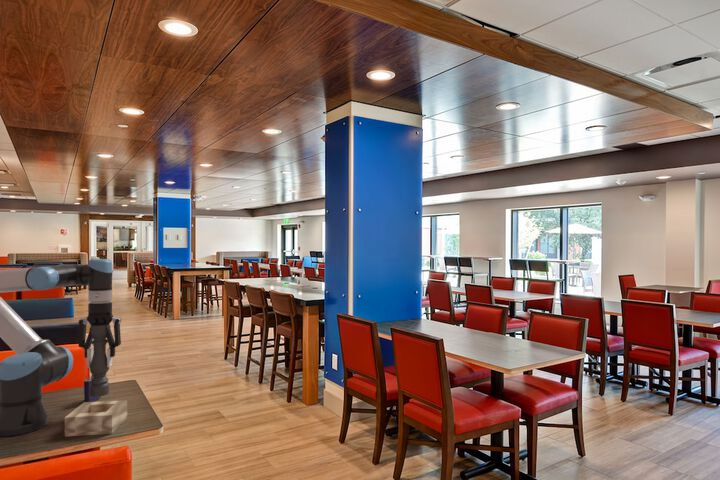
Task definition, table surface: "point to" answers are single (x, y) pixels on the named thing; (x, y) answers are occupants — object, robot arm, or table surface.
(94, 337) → the candle holder
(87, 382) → the flask
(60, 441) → the table surface
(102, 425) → the socket block
